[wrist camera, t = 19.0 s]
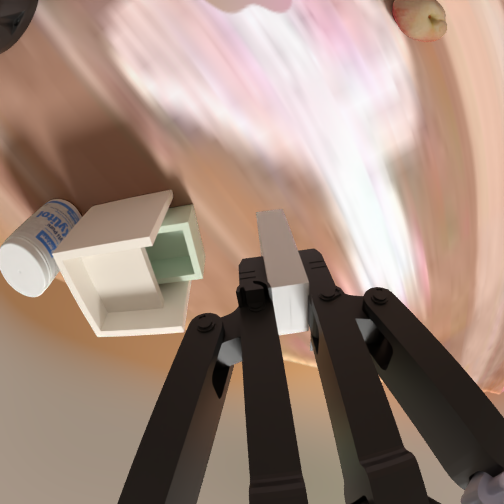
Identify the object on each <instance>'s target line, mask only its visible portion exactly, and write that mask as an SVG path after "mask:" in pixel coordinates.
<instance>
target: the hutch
mask: <svg viewBox="0 0 504 504" xmlns="http://www.w3.org/2000/svg"><path fill="white" fill-rule="evenodd" d="M172 199H173V193H172V190H167V191H162V192H156V193H151V194H146V195H141V196H136V197H131V198H127V199H122V200H117V201H113V202H108V203H104V204H100V205H95V206H92V207H91V208H90V209H89V210H88V211H87V212H86V213H85V215H84V216H83V217H82V218H81V219H80V220H79V221H78V223H77V224H76V225H75V226H74V227H73V228H72V230H71V231H70V232H69V233H68V234H67V236H66V237H65V238H64V239H63V240H62V242H61V243H60V244H59V245H58V247H57V248H56V249H55V250H54V252H53V253H52V255H53V257H54V259H55V261H56V263H57V265H58V268H59V270H60V272H61V274H62V276H63V277H64V279H65V281H66V283H67V285H68V287H69V289H70V291H71V293H72V294H73V296H74V298H75V300H76V302H77V303H78V305H79V307H80V309H81V310H82V312H83V314H84V316H85V317H86V319H87V321H88V322H89V324H90V325H91V327H92V329H93V330H94V332H95V334H96V335H97V336H98V337H111V336H133V335H151V334H166V333H178V332H184V329H185V322H186V315H187V308H188V301H189V294H190V287H191V281H192V280H188V281H180V282H172V283H164V284H158V282H157V279H156V277H155V274H154V271H153V269H152V266H151V263H150V260H149V257H148V254H147V252H146V249H145V247H149V246H153V244H154V241H155V239H156V236H157V234H158V232H159V229H160V227H161V224H162V222H163V220H164V217H165V215H166V213H167V210H168V208H169V206H170V204H171V201H172Z"/></svg>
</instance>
